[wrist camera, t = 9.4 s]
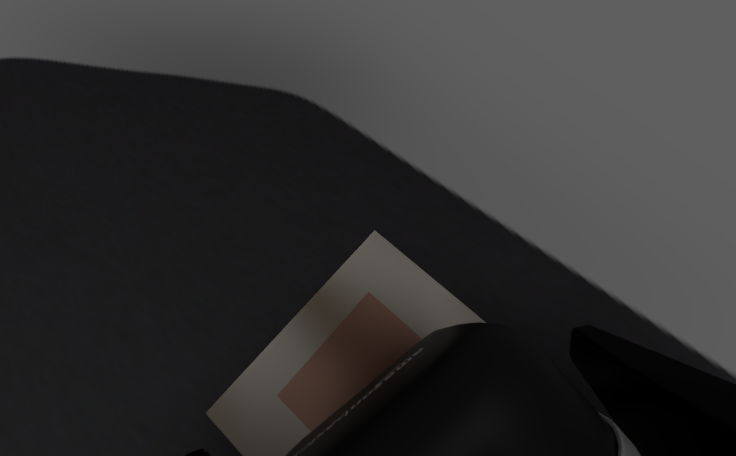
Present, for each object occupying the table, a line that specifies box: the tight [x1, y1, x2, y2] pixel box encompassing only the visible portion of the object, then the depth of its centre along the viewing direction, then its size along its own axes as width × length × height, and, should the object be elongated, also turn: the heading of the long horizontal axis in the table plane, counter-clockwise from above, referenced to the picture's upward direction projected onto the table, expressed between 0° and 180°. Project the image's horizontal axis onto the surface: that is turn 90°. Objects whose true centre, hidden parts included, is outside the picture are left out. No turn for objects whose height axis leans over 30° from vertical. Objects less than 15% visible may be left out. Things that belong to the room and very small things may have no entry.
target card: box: [206, 231, 486, 456], centre depth 15 cm, size 11×12×1 cm
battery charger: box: [286, 322, 640, 456], centre depth 10 cm, size 7×4×11 cm, turn 128°
